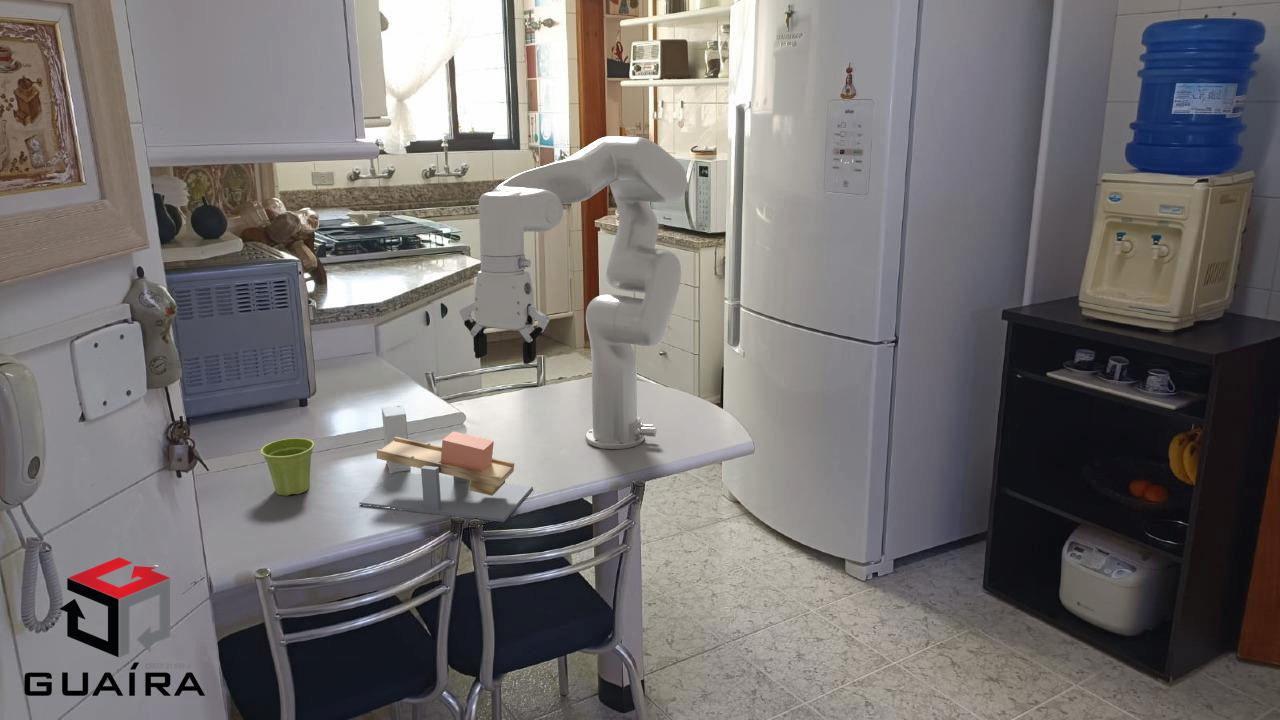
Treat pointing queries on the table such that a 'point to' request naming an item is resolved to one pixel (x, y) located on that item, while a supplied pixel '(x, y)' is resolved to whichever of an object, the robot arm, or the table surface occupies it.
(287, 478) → the plant pot
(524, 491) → the stand
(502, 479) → the beam
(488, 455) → the block
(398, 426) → the skincare box
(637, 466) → the table surface
